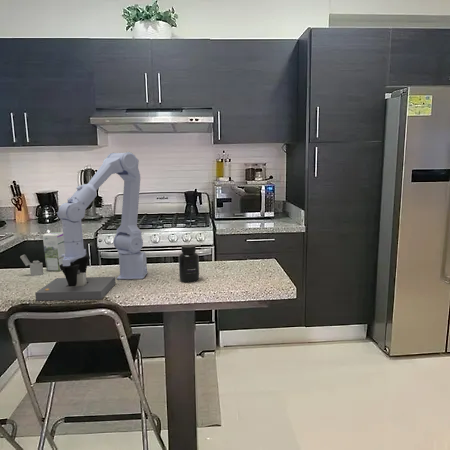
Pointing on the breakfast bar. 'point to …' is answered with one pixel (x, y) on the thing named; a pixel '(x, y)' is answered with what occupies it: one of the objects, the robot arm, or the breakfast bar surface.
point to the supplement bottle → (189, 264)
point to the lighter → (33, 266)
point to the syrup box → (53, 250)
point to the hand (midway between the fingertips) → (77, 282)
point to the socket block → (76, 289)
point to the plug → (81, 279)
